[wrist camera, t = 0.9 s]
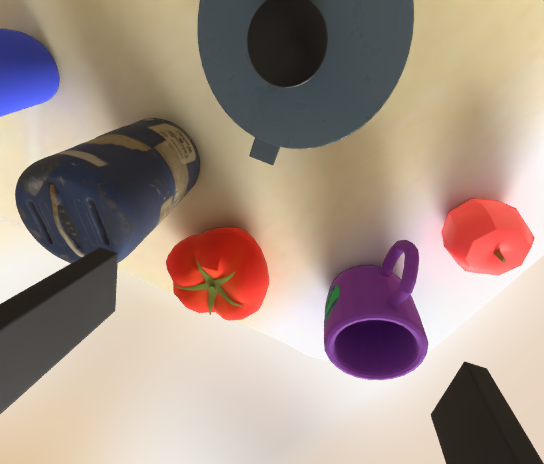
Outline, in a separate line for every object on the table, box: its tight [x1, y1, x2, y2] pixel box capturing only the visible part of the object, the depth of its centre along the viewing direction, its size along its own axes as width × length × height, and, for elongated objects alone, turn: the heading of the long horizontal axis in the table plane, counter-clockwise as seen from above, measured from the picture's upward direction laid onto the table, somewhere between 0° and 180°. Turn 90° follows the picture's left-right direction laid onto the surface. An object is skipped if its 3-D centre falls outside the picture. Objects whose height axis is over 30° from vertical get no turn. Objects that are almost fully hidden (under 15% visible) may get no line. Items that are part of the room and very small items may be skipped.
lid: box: [198, 0, 414, 149], centre depth 20 cm, size 16×16×10 cm
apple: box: [442, 198, 534, 275], centre depth 33 cm, size 8×8×8 cm
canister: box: [15, 118, 200, 263], centre depth 30 cm, size 10×10×18 cm
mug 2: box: [324, 240, 428, 380], centre depth 38 cm, size 17×11×10 cm, turn 166°
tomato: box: [166, 227, 269, 320], centre depth 40 cm, size 14×13×9 cm
